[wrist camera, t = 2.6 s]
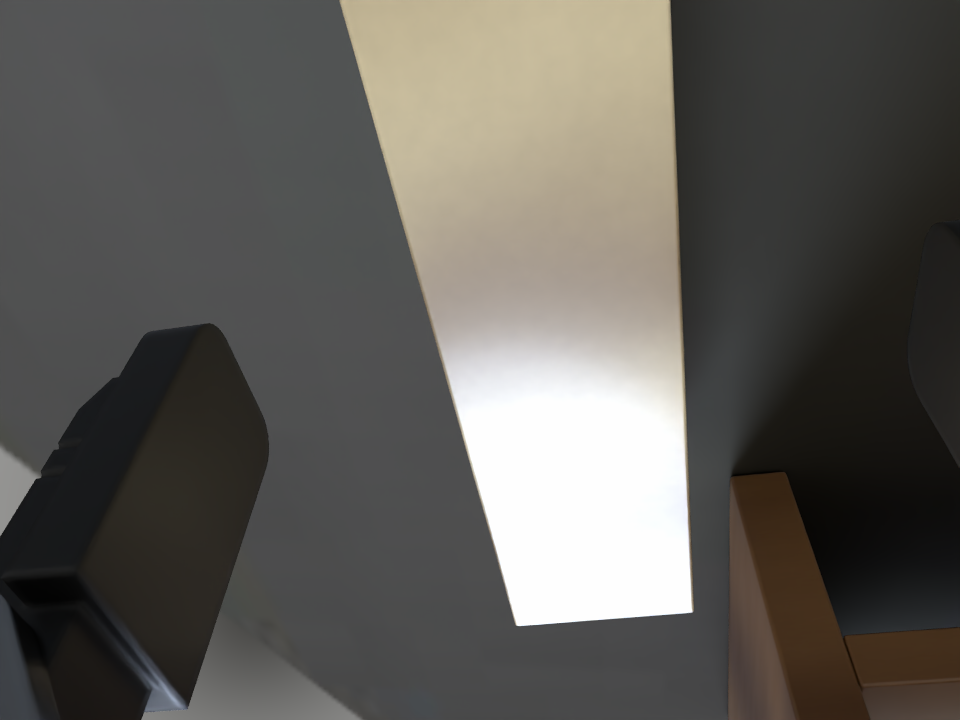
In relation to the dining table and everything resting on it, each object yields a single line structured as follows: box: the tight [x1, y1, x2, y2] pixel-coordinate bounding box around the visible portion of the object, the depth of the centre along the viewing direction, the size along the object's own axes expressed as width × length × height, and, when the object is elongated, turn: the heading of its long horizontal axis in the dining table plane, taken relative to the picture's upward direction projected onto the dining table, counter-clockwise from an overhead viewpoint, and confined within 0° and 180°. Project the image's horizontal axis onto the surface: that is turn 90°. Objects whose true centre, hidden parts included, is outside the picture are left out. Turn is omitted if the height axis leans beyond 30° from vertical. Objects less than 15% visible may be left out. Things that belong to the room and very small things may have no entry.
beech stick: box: [339, 0, 694, 626], centre depth 12 cm, size 15×3×4 cm, turn 11°
